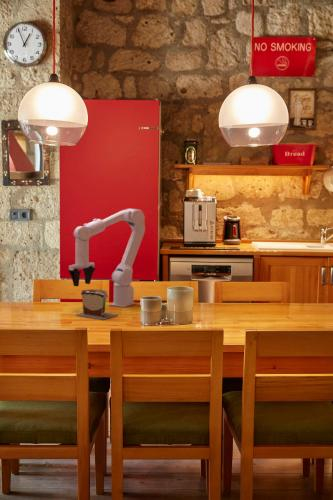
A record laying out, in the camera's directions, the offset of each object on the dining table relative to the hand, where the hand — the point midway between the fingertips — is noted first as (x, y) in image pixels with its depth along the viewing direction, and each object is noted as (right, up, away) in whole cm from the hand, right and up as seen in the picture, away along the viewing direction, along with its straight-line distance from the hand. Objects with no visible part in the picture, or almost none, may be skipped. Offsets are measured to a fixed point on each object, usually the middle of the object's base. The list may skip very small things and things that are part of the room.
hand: (81, 284), depth 241 cm
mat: (+8, -12, -12) cm, 19 cm away
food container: (+8, -12, -12) cm, 19 cm away
